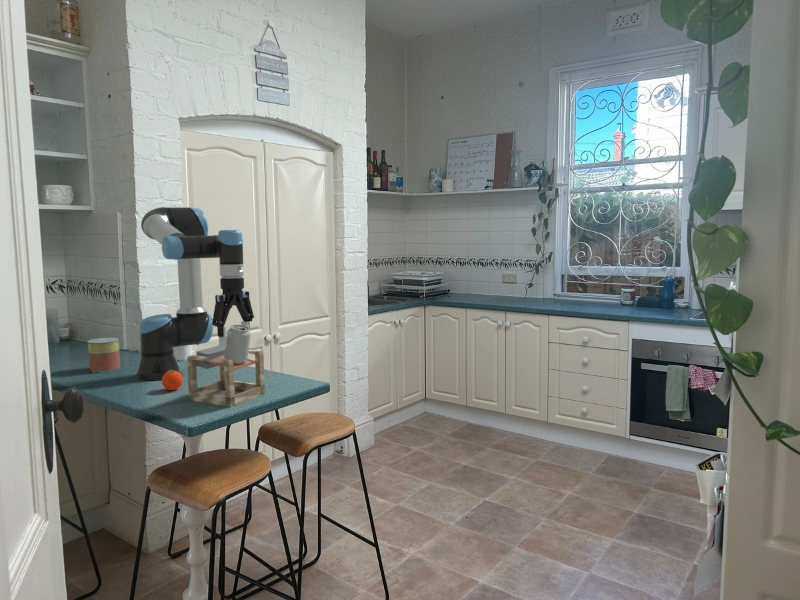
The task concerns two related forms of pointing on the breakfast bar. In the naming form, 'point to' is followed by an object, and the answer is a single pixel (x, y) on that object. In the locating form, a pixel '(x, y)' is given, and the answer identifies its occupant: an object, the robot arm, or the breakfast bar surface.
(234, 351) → the can
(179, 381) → the clementine
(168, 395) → the breakfast bar surface
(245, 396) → the frame
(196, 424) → the breakfast bar surface
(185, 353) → the mug
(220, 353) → the grey and pink block
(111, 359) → the canned food
